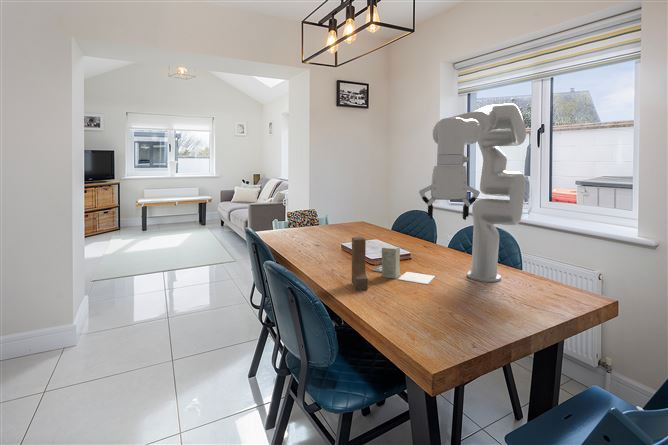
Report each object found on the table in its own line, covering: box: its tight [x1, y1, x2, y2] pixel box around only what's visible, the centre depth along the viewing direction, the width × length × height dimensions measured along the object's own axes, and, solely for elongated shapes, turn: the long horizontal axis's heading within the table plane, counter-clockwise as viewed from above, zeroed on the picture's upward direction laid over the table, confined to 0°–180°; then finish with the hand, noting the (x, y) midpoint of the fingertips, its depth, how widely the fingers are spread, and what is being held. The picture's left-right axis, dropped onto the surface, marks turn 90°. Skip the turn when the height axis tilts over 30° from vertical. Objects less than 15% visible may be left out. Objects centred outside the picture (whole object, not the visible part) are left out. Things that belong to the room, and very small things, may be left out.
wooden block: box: [351, 236, 369, 292], centre depth 133 cm, size 9×4×18 cm, turn 7°
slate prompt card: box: [371, 265, 382, 274], centre depth 156 cm, size 8×5×1 cm, turn 149°
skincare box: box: [381, 245, 401, 279], centre depth 145 cm, size 6×4×12 cm
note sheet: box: [397, 271, 436, 285], centre depth 144 cm, size 11×12×1 cm
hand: (447, 218), depth 109 cm, fingers open, 9 cm apart
